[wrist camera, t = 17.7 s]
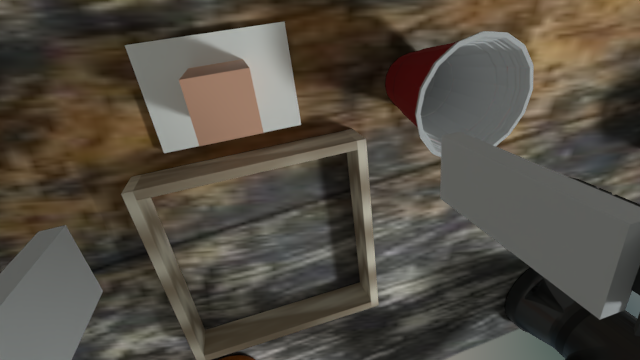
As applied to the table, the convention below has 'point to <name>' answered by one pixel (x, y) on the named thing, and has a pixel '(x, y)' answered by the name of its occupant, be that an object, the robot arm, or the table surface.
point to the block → (221, 101)
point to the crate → (281, 318)
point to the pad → (205, 49)
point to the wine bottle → (237, 358)
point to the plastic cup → (464, 88)
